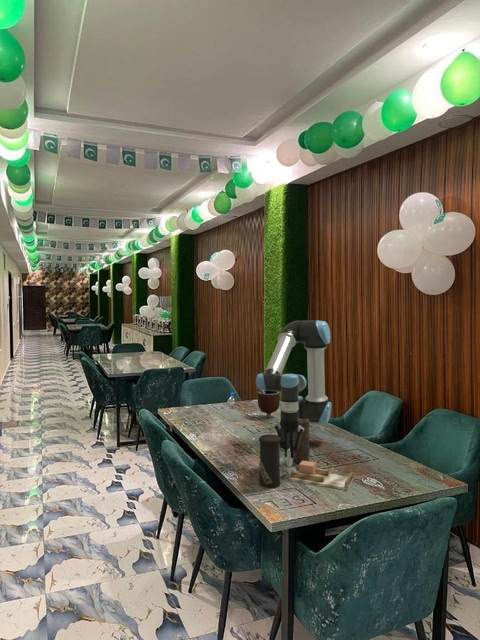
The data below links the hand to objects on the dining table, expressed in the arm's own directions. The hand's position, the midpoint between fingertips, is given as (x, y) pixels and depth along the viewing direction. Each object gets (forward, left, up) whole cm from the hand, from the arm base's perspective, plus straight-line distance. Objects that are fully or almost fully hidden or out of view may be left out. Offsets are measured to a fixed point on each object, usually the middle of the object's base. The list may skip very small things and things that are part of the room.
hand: (289, 465), depth 198 cm
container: (-4, -13, -5) cm, 14 cm away
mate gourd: (-43, +83, -5) cm, 94 cm away
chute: (+14, 0, -4) cm, 15 cm away
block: (+8, 0, -3) cm, 9 cm away
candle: (0, +17, -5) cm, 18 cm away
